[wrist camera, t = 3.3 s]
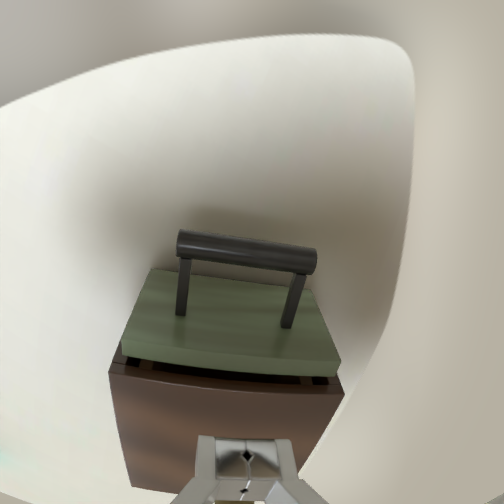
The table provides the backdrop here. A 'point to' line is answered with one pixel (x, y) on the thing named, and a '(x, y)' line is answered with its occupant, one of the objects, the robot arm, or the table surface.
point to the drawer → (232, 316)
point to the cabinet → (208, 417)
